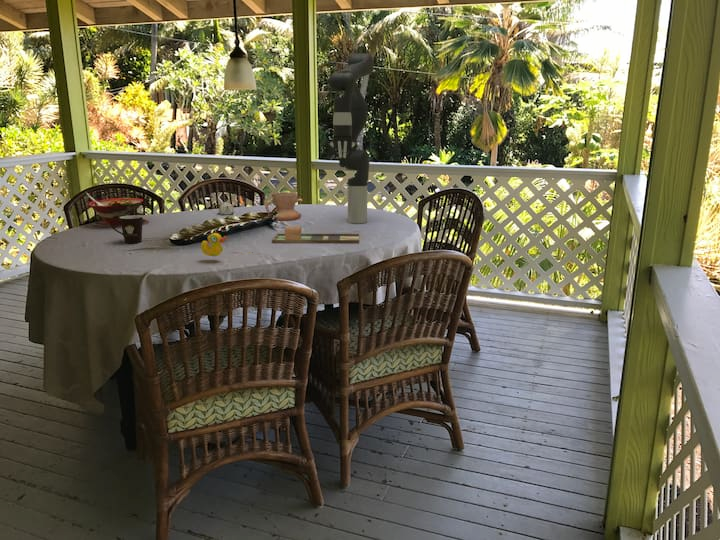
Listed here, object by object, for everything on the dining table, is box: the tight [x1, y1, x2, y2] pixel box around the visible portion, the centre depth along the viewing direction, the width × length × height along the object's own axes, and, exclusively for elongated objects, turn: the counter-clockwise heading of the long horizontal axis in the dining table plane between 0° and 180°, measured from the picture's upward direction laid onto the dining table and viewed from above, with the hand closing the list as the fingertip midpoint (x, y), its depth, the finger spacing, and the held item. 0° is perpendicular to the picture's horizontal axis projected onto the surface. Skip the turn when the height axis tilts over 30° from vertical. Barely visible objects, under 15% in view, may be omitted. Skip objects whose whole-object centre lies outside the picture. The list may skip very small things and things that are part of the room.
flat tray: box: [271, 233, 360, 244], centre depth 237 cm, size 14×35×1 cm, turn 90°
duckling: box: [200, 232, 227, 257], centre depth 207 cm, size 10×4×8 cm, turn 80°
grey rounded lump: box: [217, 199, 236, 216], centre depth 285 cm, size 9×8×10 cm
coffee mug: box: [111, 214, 143, 244], centre depth 232 cm, size 12×9×10 cm
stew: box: [86, 192, 150, 229], centre depth 263 cm, size 28×24×16 cm
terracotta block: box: [284, 226, 302, 240], centre depth 237 cm, size 6×6×4 cm
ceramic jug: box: [264, 191, 303, 222], centre depth 276 cm, size 18×14×14 cm
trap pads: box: [310, 236, 340, 240], centre depth 238 cm, size 12×12×1 cm
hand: (342, 167), depth 239 cm, fingers closed
